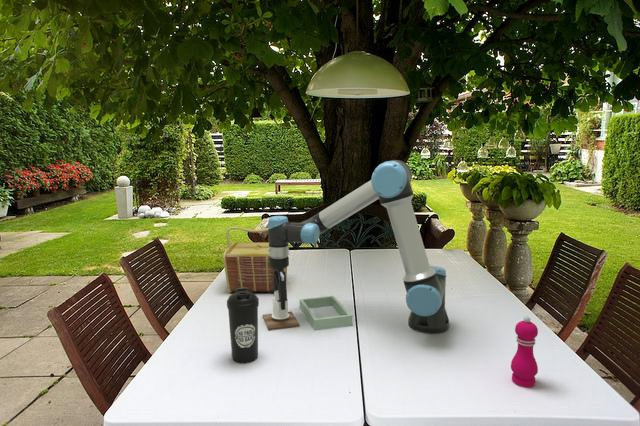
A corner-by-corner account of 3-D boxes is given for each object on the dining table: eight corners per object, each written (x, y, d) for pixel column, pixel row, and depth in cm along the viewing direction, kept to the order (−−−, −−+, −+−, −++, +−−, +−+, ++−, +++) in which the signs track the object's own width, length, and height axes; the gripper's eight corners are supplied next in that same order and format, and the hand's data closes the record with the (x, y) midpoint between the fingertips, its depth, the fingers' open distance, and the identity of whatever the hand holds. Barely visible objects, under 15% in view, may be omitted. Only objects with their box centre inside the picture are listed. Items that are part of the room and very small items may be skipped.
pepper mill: (529, 375, 139) (533, 311, 136) (541, 388, 132) (546, 321, 129) (505, 375, 139) (509, 312, 136) (516, 388, 132) (520, 321, 129)
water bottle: (230, 366, 147) (227, 297, 144) (228, 352, 157) (225, 287, 153) (262, 362, 150) (260, 293, 146) (258, 348, 160) (255, 284, 156)
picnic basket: (222, 296, 213) (219, 232, 208) (234, 279, 238) (231, 222, 233) (286, 296, 212) (284, 232, 207) (291, 279, 237) (289, 221, 232)
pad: (299, 326, 178) (299, 324, 177) (268, 330, 174) (268, 328, 174) (291, 313, 191) (291, 311, 191) (262, 317, 188) (262, 314, 188)
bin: (352, 325, 178) (352, 315, 177) (314, 330, 174) (314, 320, 173) (333, 304, 201) (333, 295, 200) (299, 308, 197) (299, 299, 196)
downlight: (268, 313, 184) (268, 290, 182) (285, 311, 187) (285, 287, 185) (275, 321, 177) (274, 297, 175) (292, 318, 180) (292, 294, 178)
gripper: (264, 251, 187) (266, 305, 191) (274, 264, 168) (275, 324, 171) (283, 249, 189) (284, 303, 193) (294, 262, 170) (295, 321, 173)
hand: (280, 313), depth 182 cm, fingers closed on downlight, 8 cm apart
